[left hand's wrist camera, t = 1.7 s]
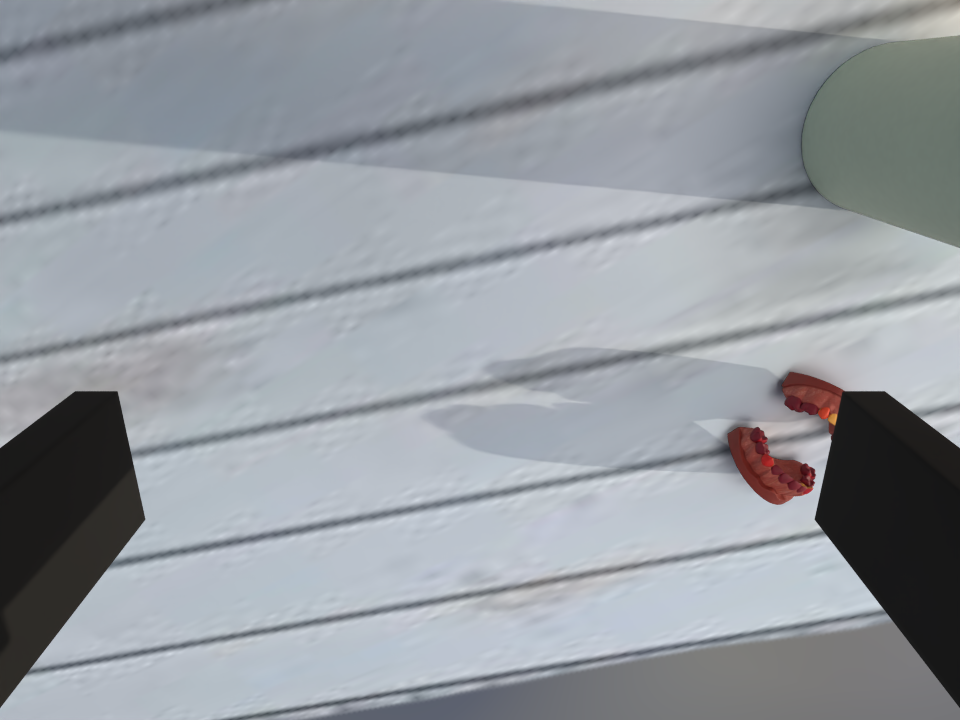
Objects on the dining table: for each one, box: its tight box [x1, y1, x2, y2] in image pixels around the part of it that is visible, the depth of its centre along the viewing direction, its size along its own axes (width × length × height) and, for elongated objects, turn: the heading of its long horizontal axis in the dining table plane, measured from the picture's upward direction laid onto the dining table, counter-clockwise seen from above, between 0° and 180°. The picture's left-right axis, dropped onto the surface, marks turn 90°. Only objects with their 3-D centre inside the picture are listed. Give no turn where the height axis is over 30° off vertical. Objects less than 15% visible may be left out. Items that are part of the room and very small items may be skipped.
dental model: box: [728, 372, 843, 505], centre depth 42 cm, size 6×4×8 cm
